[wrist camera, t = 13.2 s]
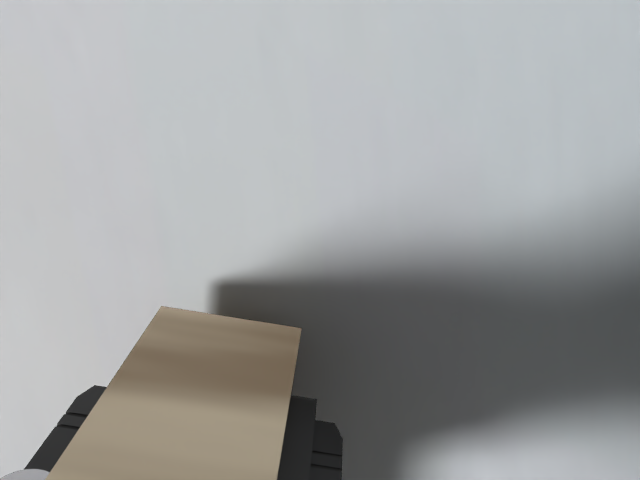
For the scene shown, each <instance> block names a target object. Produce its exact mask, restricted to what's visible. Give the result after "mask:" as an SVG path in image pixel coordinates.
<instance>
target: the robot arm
mask: <svg viewBox="0 0 640 480" xmlns="http://www.w3.org/2000/svg"><path fill="white" fill-rule="evenodd" d="M106 388H107V387H102V386H96V385H95V386H93V387H91V388H90V389H88V390H87V391H85V392H84V393H82V394H81V395H79V396H78V397H77V398H76V399H75V400H74V402H73V403H72V404H71V406H70V407H69V409H68V410H67V411H66V414H65V415H63V417H62V418H61V419H60V421H59V422H58V424H57V427H55V428H54V429H53V430H52V432H51V433H50V435H49V436H48V437H47V439H46V440H45V441H44V443H43V444H42V445H41V447H40V448H39V450H38V451H37V452H36V454H35V455H34V456H33V458H32V459H31V461H30V462H29V463H28V465H27V466H26V467H25V469H24V470H20V471H16V472H13V473H10V474H8V475H6V476H4V477H2V478H0V480H45V479H46V478H47V476H48V475H49V473H50V472H51V470H52V469H53V467H54V466H55V464H56V463H57V461H58V460H59V458H60V457H61V455H62V454H63V452H64V451H65V449H66V448H67V446H68V445H69V443H70V442H71V440H72V439H73V437H74V436H75V434H76V433H77V431H78V430H79V428H80V427H81V425H82V424H83V422H84V421H85V419H86V418H87V416H88V415H89V413H90V412H91V410H92V409H93V407H94V406H95V404H96V403H97V401H98V400H99V398H100V397H101V395H102V394H103V392H104V391H105V389H106ZM316 403H317V399H311V398H305V397H298V396H292V395H291V398H290V404H289V410H288V416H287V422H286V428H285V434H284V440H283V446H282V453H281V459H280V465H279V471H278V477H277V480H342V472H341V471H342V443H343V439H342V437H341V435H340V433H339V431H338V429H337V427H336V425H335V423H329V422H323V421H316V420H315V414H316Z"/></svg>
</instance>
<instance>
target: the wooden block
mask: <svg viewBox="0 0 640 480" xmlns="http://www.w3.org/2000/svg"><path fill="white" fill-rule="evenodd" d="M301 329H302V328H297V327H291V326H284V325H278V324H272V323H265V322H259V321H253V320H246V319H240V318H234V317H227V316H221V315H215V314H208V313H202V312H196V311H189V310H183V309H177V308H170V307H164V306H161V307H160V309H159V310H158V312H157V313H156V315H155V316H154V318H153V319H152V321H151V322H150V324H149V325H148V327H147V328H146V330H145V331H144V333H143V334H142V336H141V337H140V339H139V340H138V342H137V343H136V345H135V346H134V348H133V349H132V351H131V352H130V354H129V355H128V357H127V358H126V360H125V361H124V363H123V364H122V366H121V367H120V369H119V370H118V372H117V373H116V375H115V376H114V378H113V379H112V380H111V382H110V383H109V385H108V386H107V388H106V389H105V391H104V392H103V394H102V395H101V397H100V398H99V400H98V401H97V403H96V404H95V406H94V407H93V409H92V410H91V412H90V413H89V415H88V416H87V418H86V419H85V421H84V422H83V424H82V425H81V427H80V428H79V430H78V431H77V433H76V434H75V436H74V437H73V439H72V440H71V442H70V443H69V445H68V446H67V448H66V449H65V451H64V452H63V454H62V455H61V457H60V458H59V460H58V461H57V463H56V464H55V466H54V467H53V469H52V470H51V472H50V473H49V475H48V476H47V478H46V479H45V480H277V477H278V471H279V465H280V459H281V453H282V446H283V440H284V434H285V428H286V422H287V416H288V410H289V404H290V398H291V393H292V387H293V380H294V374H295V367H296V361H297V355H298V348H299V342H300V335H301Z"/></svg>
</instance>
